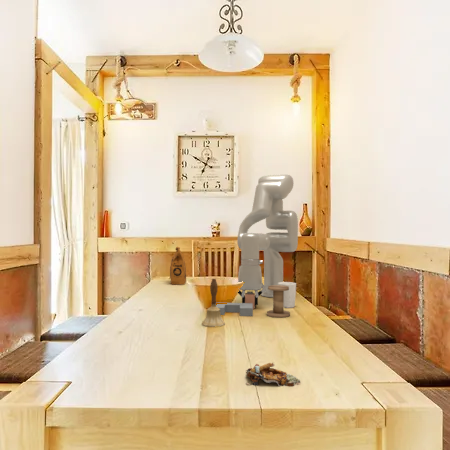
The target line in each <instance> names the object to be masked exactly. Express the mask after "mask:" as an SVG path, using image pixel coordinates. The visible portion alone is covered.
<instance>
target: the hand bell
mask: <svg viewBox="0 0 450 450" xmlns="http://www.w3.org/2000/svg"><path fill="white" fill-rule="evenodd" d="M209 286H210V288H209V290H210V295H211V302H210V303H211V304H210V305H211V306H210V307H208V308H207V310H206V315H205V318H204V320H203V321H202V322H201V325H202V326H205V327H208V326H209V327H210V328H216V327H215V326H220V327H223V325H224V326H225V325H226V323H225V321H224V320H223V317H222V316H221V314H220V309H219V308H217V307H216V303H217V294H218V289H219V287H218V283H217V279H216V278H212V279H211V282H210V285H209Z"/></svg>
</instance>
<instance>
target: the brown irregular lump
mask: <svg viewBox="0 0 450 450" xmlns="http://www.w3.org/2000/svg"><path fill="white" fill-rule="evenodd" d="M273 367H275V364H274V362H268V363H265V364H263V365H259V364H258V363H256V364H255V365H254V366H253V367H252V368H250V367H249V368H248V369H247V370H245V377H248V378H249V379H250V380H251V381H252V383H250V382H245V385H246V386H254V387H255V386H259V384H258V381H259V380H262V381H264V382H265V383H269V384H270V383H276V384H277V385H278V387H284V386H285V387H294V386H299V385H301V380H300V379H299V378H298V377H296V376H294V375H293V374H291V373H287V372H286V371H282V370H280V369H276V368H273Z"/></svg>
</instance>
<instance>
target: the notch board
mask: <svg viewBox="0 0 450 450" xmlns="http://www.w3.org/2000/svg"><path fill="white" fill-rule="evenodd" d="M226 303H227V304H217V305H216V307H217V308H219V309H220V314H221V315H224V316H225V314H226V313H239V316H240V317H253V316H254V314H253V312H254V309H253V304H252V303H242V302H226Z"/></svg>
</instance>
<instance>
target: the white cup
mask: <svg viewBox="0 0 450 450" xmlns="http://www.w3.org/2000/svg"><path fill="white" fill-rule="evenodd" d="M278 285H283V286H288V287H289V290H287V291H284V309H285V308H288V309H292V308H295V307H296V295H297V283H296V282H291V281H283V282H279V283H278Z"/></svg>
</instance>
